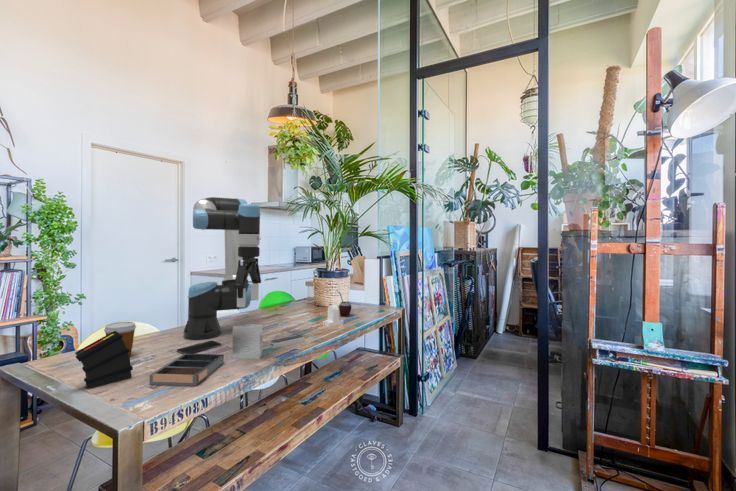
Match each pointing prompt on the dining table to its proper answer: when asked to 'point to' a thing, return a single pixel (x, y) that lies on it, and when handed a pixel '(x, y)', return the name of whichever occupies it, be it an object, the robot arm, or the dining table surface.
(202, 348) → the phone
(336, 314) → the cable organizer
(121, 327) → the disposable coffee cup
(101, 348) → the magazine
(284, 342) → the multiport hub
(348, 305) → the mate gourd
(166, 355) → the dining table surface
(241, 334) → the panel
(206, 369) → the slot rack
